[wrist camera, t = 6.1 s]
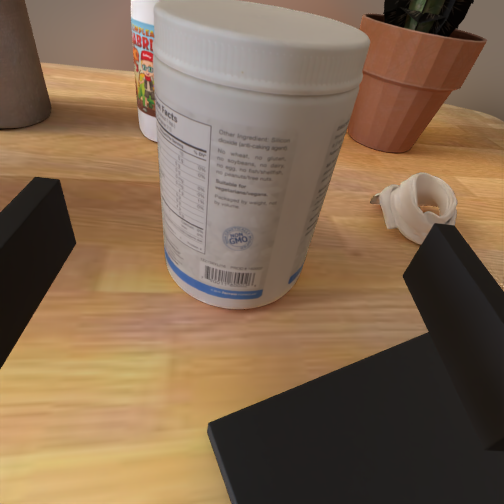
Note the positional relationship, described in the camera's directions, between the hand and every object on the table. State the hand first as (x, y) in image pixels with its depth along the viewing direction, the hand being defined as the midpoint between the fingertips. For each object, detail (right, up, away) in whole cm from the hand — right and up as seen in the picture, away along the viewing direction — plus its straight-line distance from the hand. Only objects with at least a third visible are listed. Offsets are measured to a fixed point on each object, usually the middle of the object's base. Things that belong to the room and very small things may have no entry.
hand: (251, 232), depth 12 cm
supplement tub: (-1, -2, +12) cm, 12 cm away
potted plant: (+17, +15, +34) cm, 41 cm away
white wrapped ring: (+15, +2, +19) cm, 24 cm away
